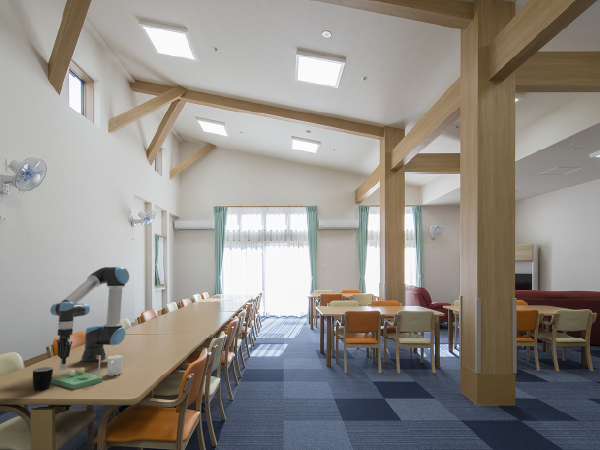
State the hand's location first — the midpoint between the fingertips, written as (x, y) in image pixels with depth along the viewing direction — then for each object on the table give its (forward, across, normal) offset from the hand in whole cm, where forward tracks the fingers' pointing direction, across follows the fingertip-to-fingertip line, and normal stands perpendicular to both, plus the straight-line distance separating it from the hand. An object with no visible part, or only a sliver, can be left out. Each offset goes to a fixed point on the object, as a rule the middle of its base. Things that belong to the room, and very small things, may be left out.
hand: (62, 369), depth 220 cm
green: (+5, +16, 0) cm, 17 cm away
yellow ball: (+1, +10, +6) cm, 11 cm away
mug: (+5, +12, -17) cm, 21 cm away
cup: (+5, +20, +20) cm, 28 cm away
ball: (+1, +10, 0) cm, 10 cm away
